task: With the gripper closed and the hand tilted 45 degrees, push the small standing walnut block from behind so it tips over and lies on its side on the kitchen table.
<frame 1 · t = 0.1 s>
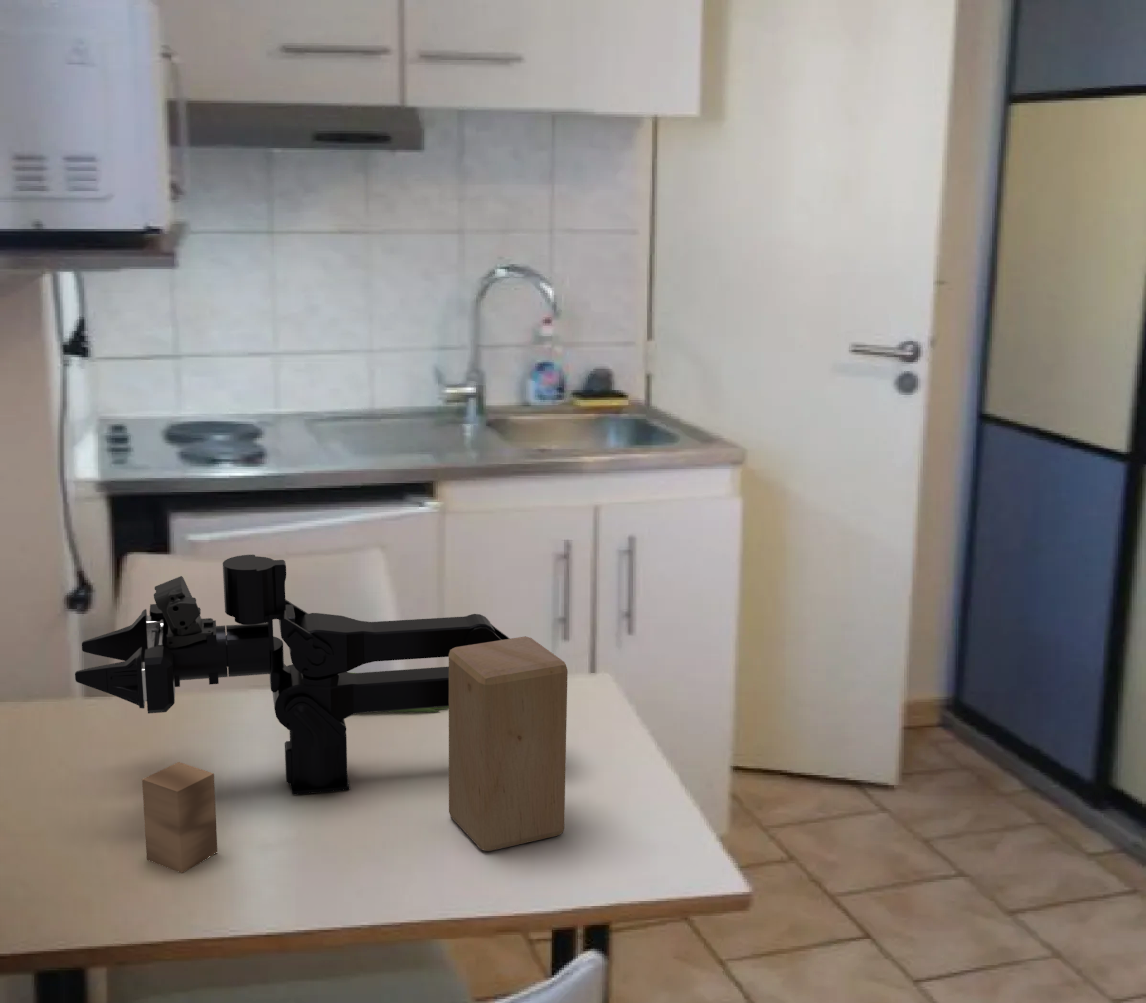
hand: (78, 661, 160), 17 cm above the table, tool horizontal, fingers open, 9 cm apart
wooden block: (505, 828, 160), on the table
edible corn: (386, 711, 191), on the table
walnut block: (182, 856, 153), on the table
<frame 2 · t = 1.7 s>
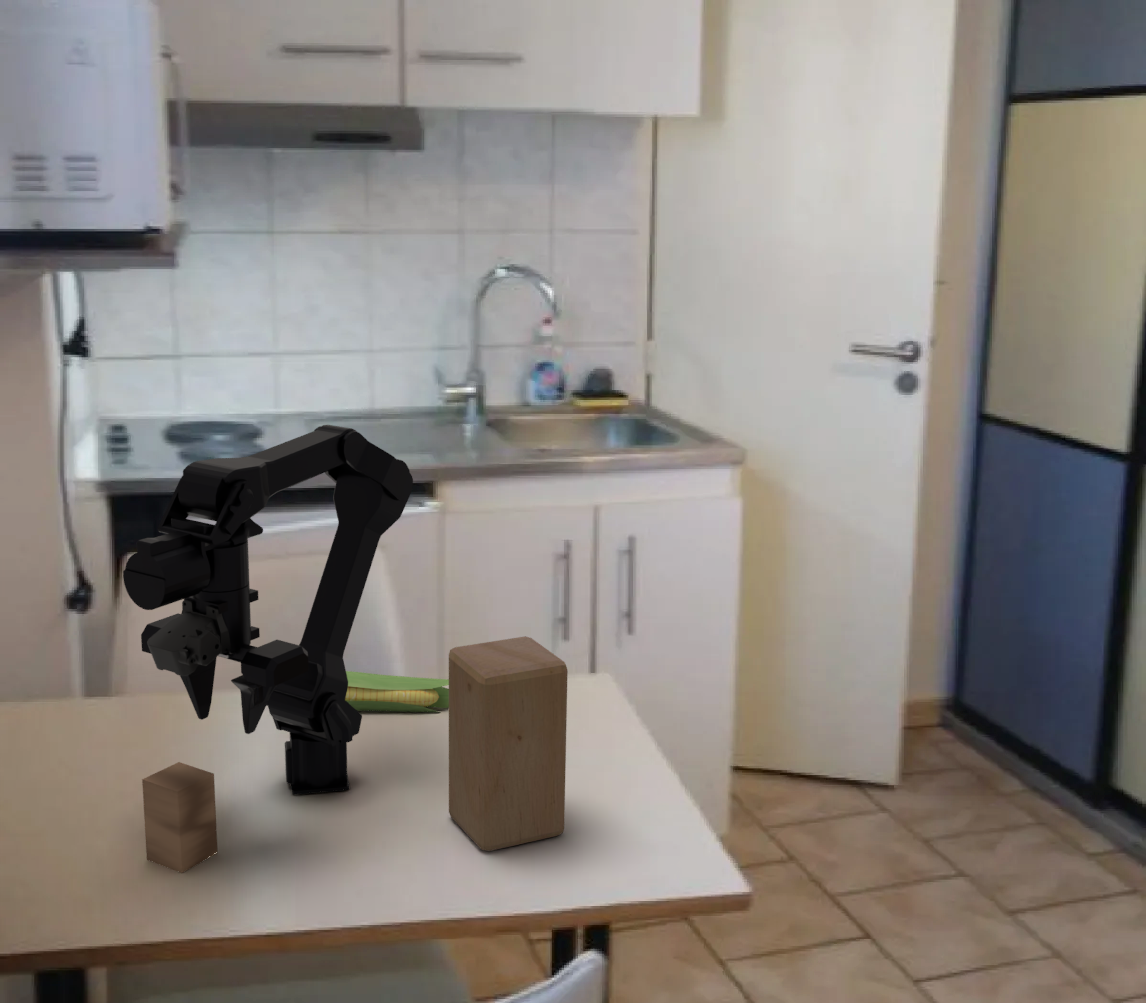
hand: (226, 725, 155), 12 cm above the table, tool pointing down, fingers open, 6 cm apart
nothing on the table moved.
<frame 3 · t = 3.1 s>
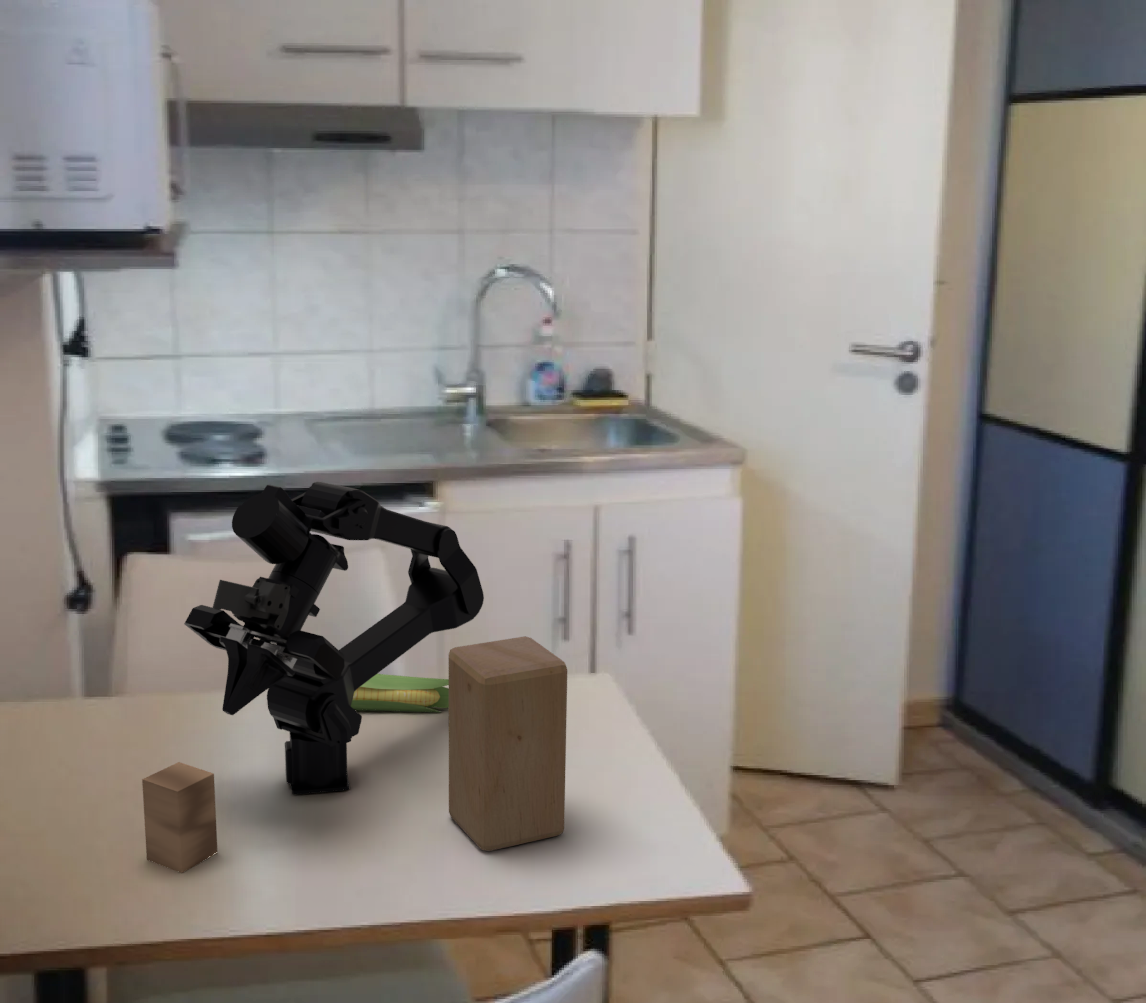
hand: (227, 713, 155), 13 cm above the table, tool tilted 45°, fingers closed
nothing on the table moved.
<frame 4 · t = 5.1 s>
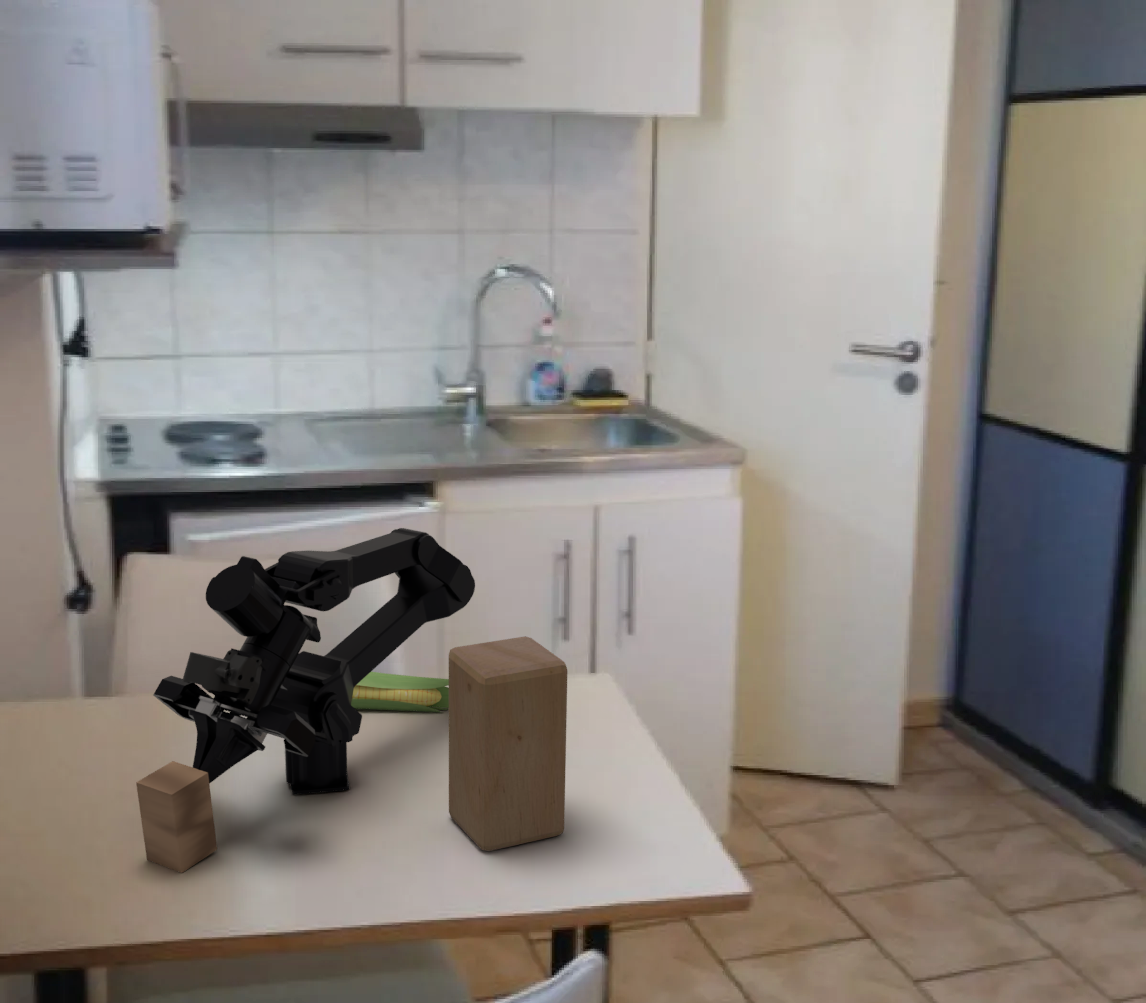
hand: (194, 788, 153), 7 cm above the table, tool tilted 45°, fingers closed
walnut block: (182, 854, 152), on the table, tilted 5°
everything else where it was.
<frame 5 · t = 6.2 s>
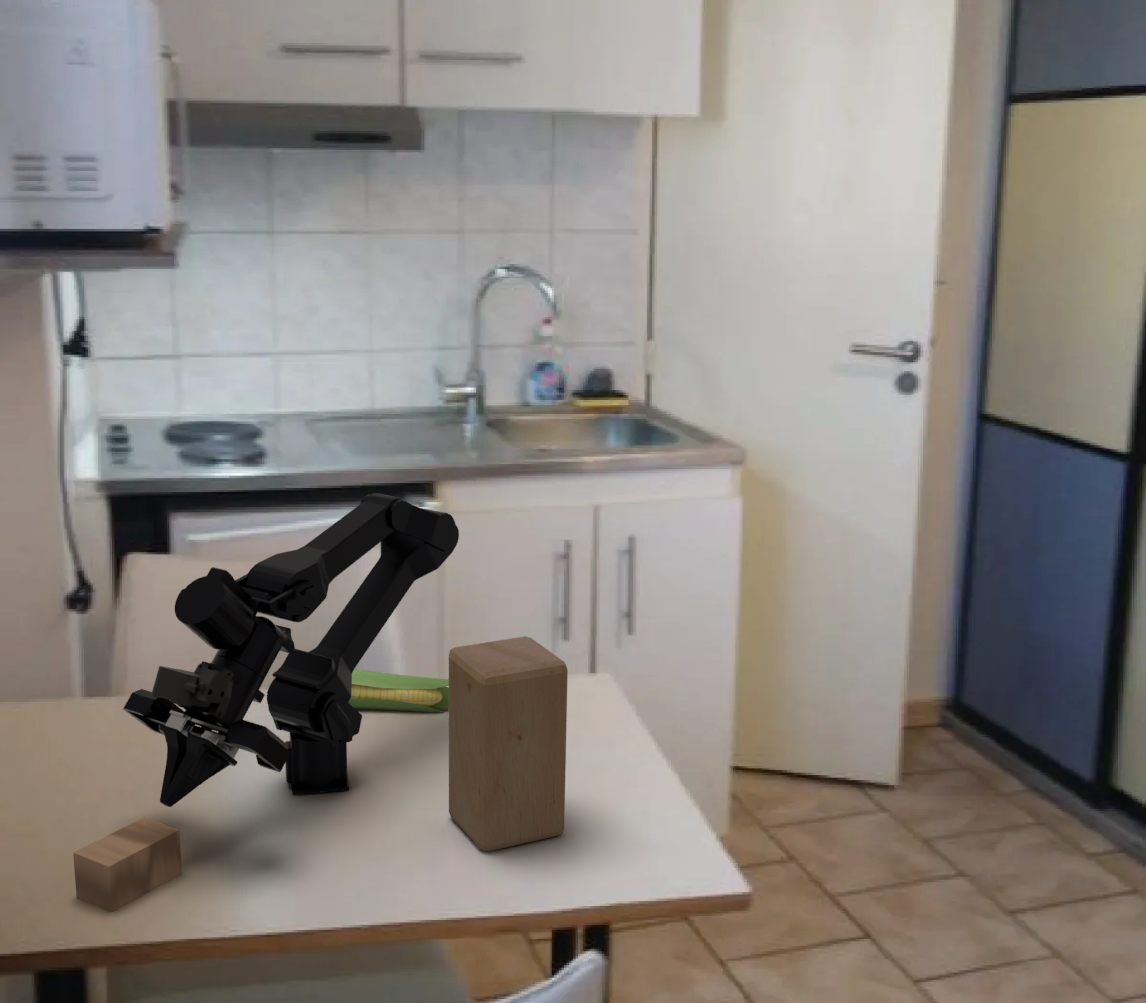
hand: (164, 804, 149), 7 cm above the table, tool tilted 45°, fingers closed
walnut block: (163, 845, 150), point 2 cm above the table, tilted 90°
everything else where it was.
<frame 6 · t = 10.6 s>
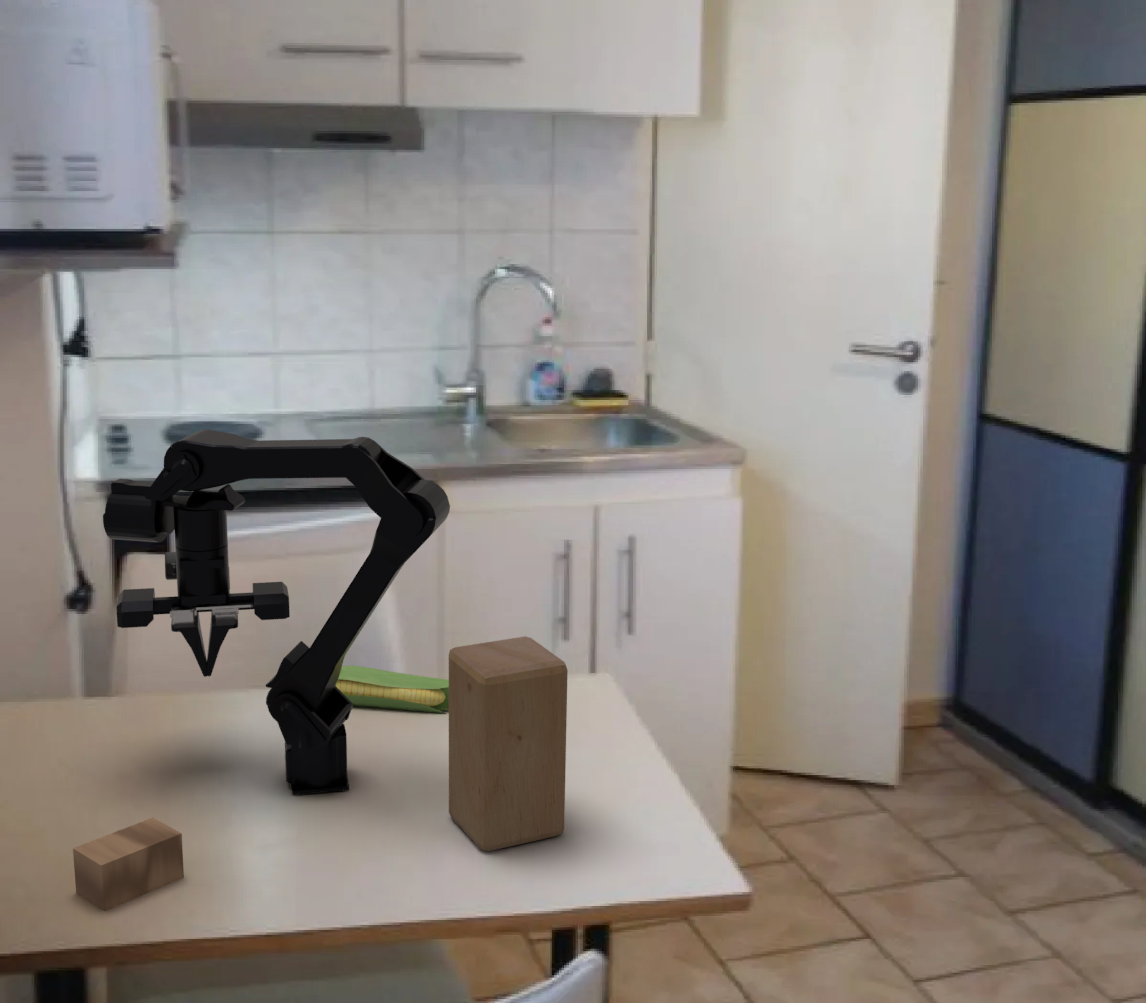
hand: (207, 675, 169), 12 cm above the table, tool pointing down, fingers closed
at the end: walnut block tilted 90°; walnut block inside the target area (2.5 cm from its centre), point 2.3 cm above the table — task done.
